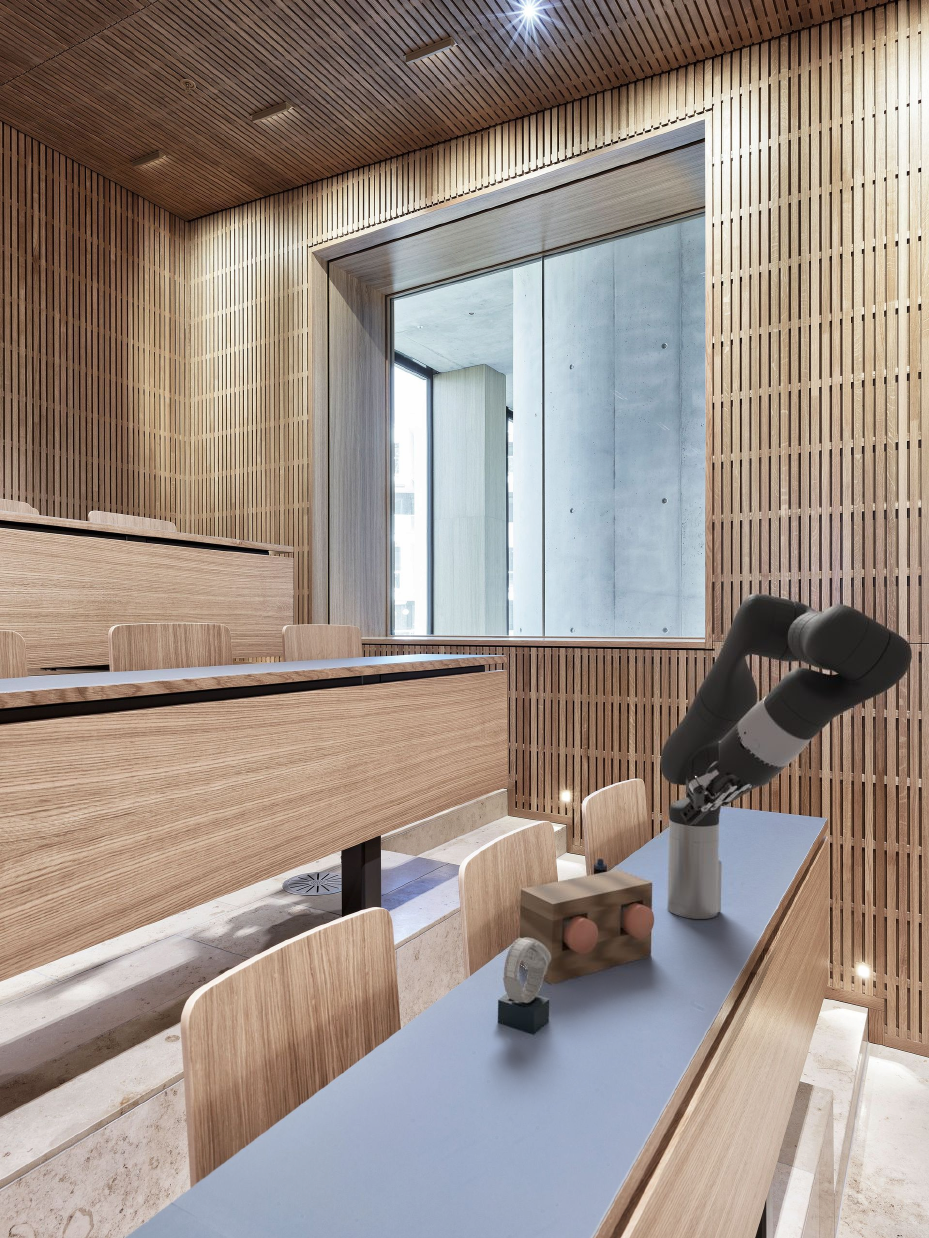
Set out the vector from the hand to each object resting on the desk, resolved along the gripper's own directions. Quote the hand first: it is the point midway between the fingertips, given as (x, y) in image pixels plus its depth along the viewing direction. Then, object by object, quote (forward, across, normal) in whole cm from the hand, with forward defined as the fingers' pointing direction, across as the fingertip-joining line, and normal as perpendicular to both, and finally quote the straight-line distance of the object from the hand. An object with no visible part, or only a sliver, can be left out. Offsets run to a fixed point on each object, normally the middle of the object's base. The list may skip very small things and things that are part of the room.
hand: (686, 819), depth 108 cm
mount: (+36, -3, +4) cm, 36 cm away
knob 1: (+32, +3, +1) cm, 32 cm away
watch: (+28, +18, +11) cm, 35 cm away
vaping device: (+44, -14, -4) cm, 46 cm away
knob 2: (+32, -9, +1) cm, 33 cm away
